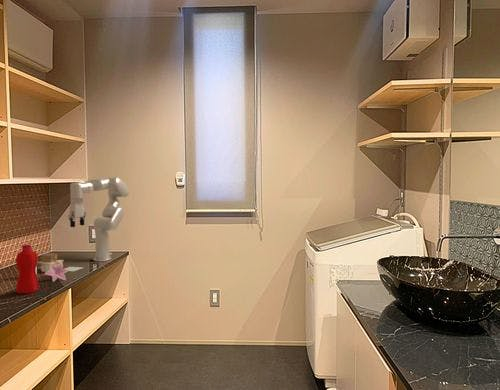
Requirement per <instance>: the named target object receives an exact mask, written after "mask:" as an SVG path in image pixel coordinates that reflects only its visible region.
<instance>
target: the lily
mask: <svg viewBox="0 0 500 390" xmlns="http://www.w3.org/2000/svg"><path fill="white" fill-rule="evenodd" d="M50 268H51V270H49V271H47V272H44V275H46V276H51V277H52V283H53V282H55V281H56V280H57V279H61V280H64V281H66V280H67V277H66V275H65V273H68V272H70V271H69V270H66V269H65V268H64V264H63V262H59V263H57V266H56V267H55V266H53V265H50Z"/></svg>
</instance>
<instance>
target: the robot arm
mask: <svg viewBox="0 0 500 390" xmlns="http://www.w3.org/2000/svg"><path fill="white" fill-rule="evenodd" d="M69 187H70V204H69V210H68V211H69V212H68V215H67V217H68V220H69V222H70V225H69V226H70V228H75V227H76V221H75V220H76V219H79V225H80V226H85V219H86V216H87V213H86V212H85V207H84V202H83V201H84V197H83V196H84V195H83V194H90V193H92V192H100V191H103V190H108V191H107V195H108V203H107V204H106V205H105V207H104V209H103V210H102V214H101V216H102V217H101V216H99V217H97V218H95V219H94V221H93V229H94V233H95V234H94V235H95V239H94V240H95V243H94V245H95V257H94V258H93V259H92V260H93V261H95V262H107V261H110V260H111V261H112V257H111V256H112V255H113V253H112V252H110V235H109V232H108V231H115V230H116V229H117V228H118V226H119V225H120V223H121V222H122V219H123V218H124V215H125V214H124V213H125V212H124V209H123V207H120V204H121V203H120V201H119V198H126V197H128V196H129V194H130V188H129V187H128V186H127V185H126V184H125V182H124V181H123V180H122V179H120V178H119V177H114V176H113V177H112V176H111V177H110V176H109V177H102V178H96V179H88V180H83V181H76V182H72V183H70V185H69Z"/></svg>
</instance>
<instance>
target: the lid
mask: <svg viewBox="0 0 500 390" xmlns="http://www.w3.org/2000/svg"><path fill="white" fill-rule="evenodd" d="M64 261H65V260H64V259H58V254H57V253H43V254H41V260H39V261H37V265H41V264H43V265H52V264H56V263H57V264H59V263H60V262H62V263H63V262H64Z"/></svg>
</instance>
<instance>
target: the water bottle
mask: <svg viewBox="0 0 500 390" xmlns="http://www.w3.org/2000/svg"><path fill="white" fill-rule="evenodd" d="M38 260H39V258H38V254H37V252H36V251H35V250H32V244H23V245H22V246H21V251H20V252H19V253H17V255H16V258H15V264H16V266H17V269H18V270H17V271H19V274H18V275H17V276H18V277H17V282H16V286H15V287H16V288H15V290H16V293H17V294H33V293H34V292H36V291H38V290H39V280H38V277H37V275H36V265H38V264H37V262H39V261H38Z"/></svg>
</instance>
